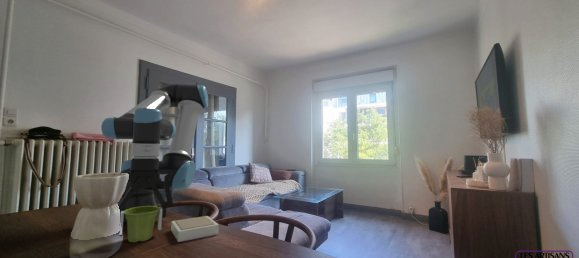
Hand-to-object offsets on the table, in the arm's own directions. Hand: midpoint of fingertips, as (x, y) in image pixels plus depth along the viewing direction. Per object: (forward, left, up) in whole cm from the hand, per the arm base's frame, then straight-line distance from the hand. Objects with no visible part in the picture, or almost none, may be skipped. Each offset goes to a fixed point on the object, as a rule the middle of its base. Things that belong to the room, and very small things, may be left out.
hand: (140, 231), depth 72 cm
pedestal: (+3, +15, -2) cm, 15 cm away
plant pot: (0, 0, -2) cm, 2 cm away
